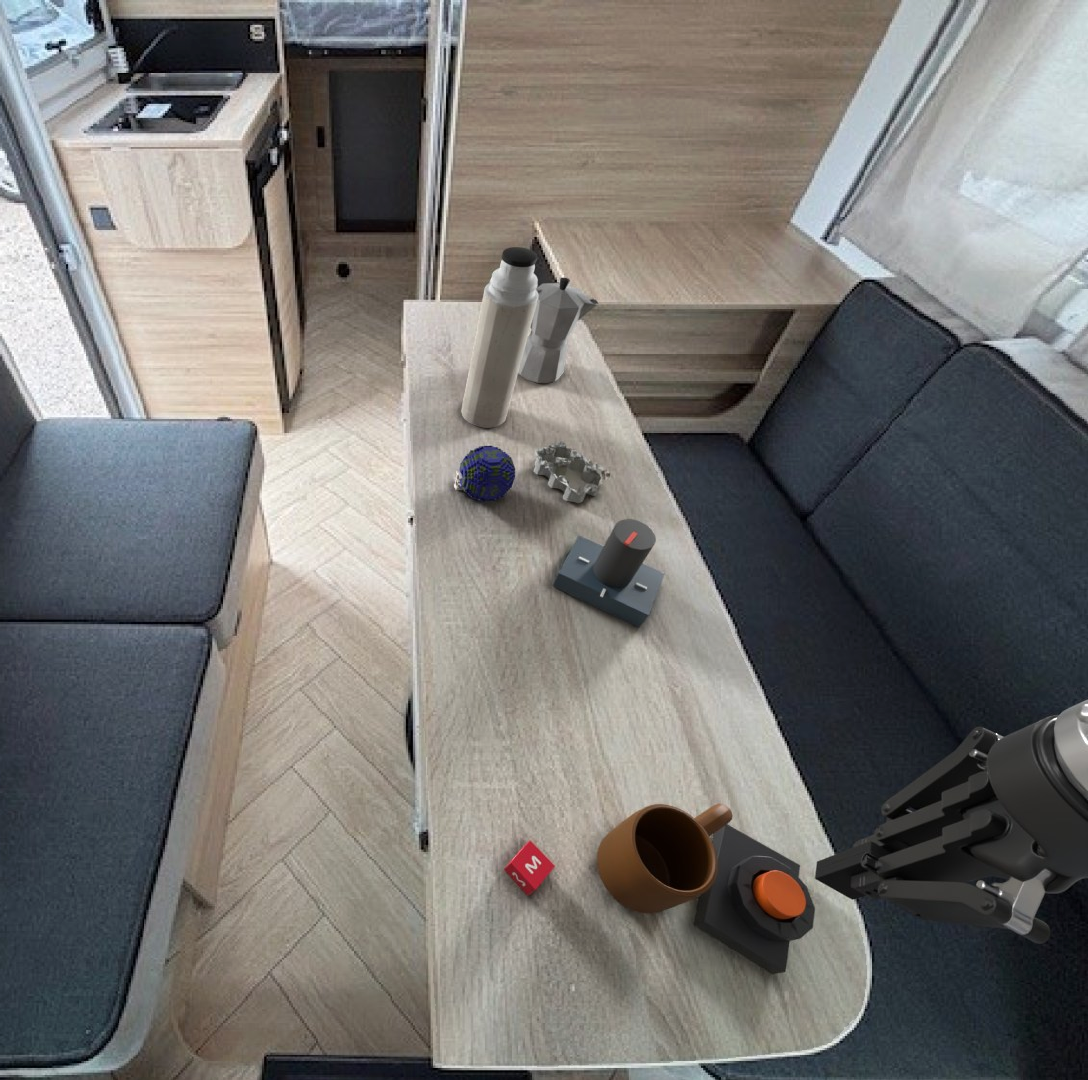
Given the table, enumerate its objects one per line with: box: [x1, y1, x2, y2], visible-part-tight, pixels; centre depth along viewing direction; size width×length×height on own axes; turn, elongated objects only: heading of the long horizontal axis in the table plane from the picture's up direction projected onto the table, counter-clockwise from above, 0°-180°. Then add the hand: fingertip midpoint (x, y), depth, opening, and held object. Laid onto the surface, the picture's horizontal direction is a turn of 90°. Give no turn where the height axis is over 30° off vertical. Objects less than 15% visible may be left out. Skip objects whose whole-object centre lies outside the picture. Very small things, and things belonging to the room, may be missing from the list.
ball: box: [453, 445, 516, 502], centre depth 89 cm, size 8×8×8 cm
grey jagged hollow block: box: [533, 441, 611, 504], centre depth 92 cm, size 11×8×4 cm
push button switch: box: [692, 823, 816, 975], centre depth 55 cm, size 8×10×4 cm
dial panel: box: [552, 534, 666, 629], centre depth 79 cm, size 12×9×3 cm
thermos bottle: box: [461, 246, 539, 429], centre depth 94 cm, size 8×8×28 cm
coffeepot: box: [518, 276, 599, 384], centre depth 107 cm, size 15×9×18 cm, turn 75°
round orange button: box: [753, 871, 806, 919], centre depth 53 cm, size 4×4×2 cm
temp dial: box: [593, 518, 657, 588], centre depth 75 cm, size 5×5×8 cm
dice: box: [503, 839, 556, 896], centre depth 57 cm, size 3×3×3 cm
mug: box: [596, 803, 734, 915], centre depth 55 cm, size 12×8×9 cm, turn 118°
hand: (834, 880), depth 47 cm, fingers closed
